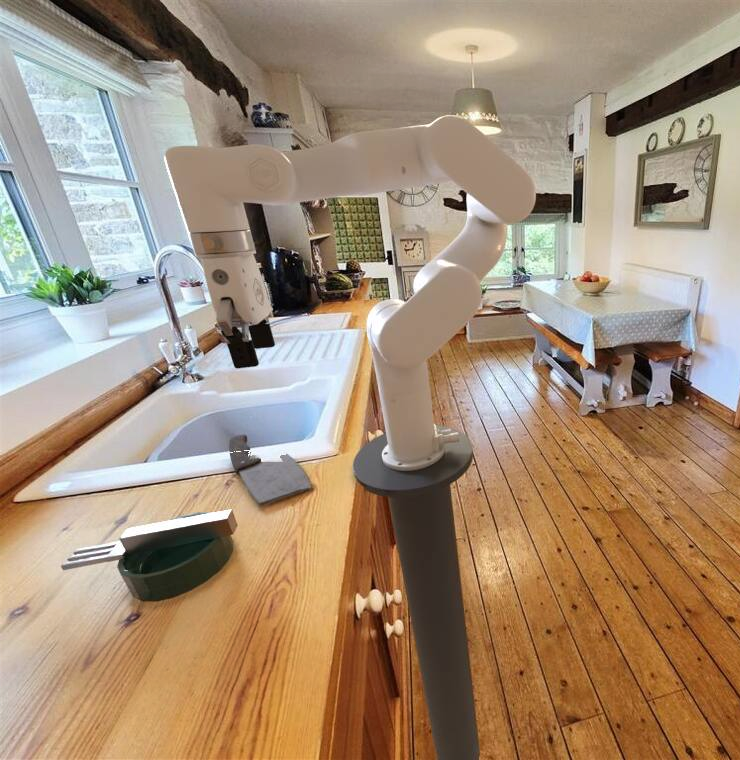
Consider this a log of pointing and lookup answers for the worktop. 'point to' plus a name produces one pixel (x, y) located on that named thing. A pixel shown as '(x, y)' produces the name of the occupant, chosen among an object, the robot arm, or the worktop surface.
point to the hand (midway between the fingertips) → (256, 356)
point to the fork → (156, 538)
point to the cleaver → (267, 474)
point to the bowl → (174, 567)
